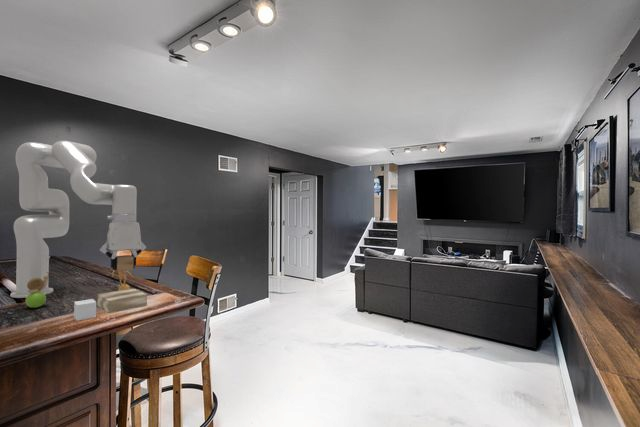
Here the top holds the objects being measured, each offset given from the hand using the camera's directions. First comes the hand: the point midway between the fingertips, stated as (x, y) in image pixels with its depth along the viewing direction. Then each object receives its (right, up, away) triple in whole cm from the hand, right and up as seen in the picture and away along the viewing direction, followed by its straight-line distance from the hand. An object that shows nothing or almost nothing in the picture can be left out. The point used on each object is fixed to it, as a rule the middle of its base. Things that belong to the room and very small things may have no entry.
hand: (123, 268), depth 115 cm
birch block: (-1, -14, 0) cm, 14 cm away
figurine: (-9, -13, +14) cm, 22 cm away
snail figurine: (-27, -13, -5) cm, 31 cm away
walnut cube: (0, -1, 0) cm, 1 cm away
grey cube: (-5, -14, -13) cm, 19 cm away
